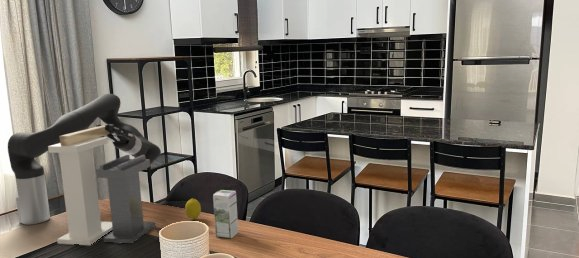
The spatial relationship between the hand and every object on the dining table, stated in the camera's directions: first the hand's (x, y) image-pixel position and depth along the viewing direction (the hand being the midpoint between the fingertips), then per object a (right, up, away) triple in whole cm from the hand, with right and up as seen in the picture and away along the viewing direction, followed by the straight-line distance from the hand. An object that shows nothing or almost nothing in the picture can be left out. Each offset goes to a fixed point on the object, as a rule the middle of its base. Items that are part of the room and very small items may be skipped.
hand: (101, 126), depth 153 cm
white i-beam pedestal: (-1, -37, -6) cm, 37 cm away
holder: (+13, -36, -7) cm, 39 cm away
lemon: (+32, -34, +4) cm, 46 cm away
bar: (-1, -4, -6) cm, 8 cm away
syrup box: (+46, -36, -11) cm, 59 cm away
